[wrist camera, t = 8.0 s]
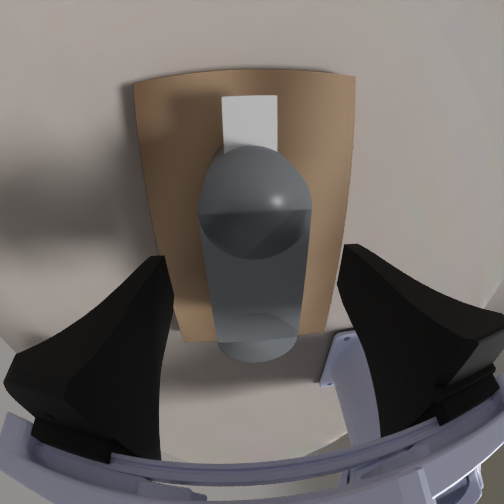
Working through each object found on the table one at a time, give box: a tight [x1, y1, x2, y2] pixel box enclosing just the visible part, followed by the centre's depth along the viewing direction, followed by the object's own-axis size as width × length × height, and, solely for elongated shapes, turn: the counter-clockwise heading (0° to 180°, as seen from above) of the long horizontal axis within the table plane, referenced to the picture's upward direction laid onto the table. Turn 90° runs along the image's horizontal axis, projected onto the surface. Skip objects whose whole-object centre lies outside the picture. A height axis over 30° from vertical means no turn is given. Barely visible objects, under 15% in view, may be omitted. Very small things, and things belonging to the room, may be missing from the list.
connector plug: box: [198, 95, 312, 363], centre depth 11 cm, size 4×11×4 cm, turn 1°
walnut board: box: [133, 69, 355, 342], centre depth 14 cm, size 10×16×1 cm, turn 2°
